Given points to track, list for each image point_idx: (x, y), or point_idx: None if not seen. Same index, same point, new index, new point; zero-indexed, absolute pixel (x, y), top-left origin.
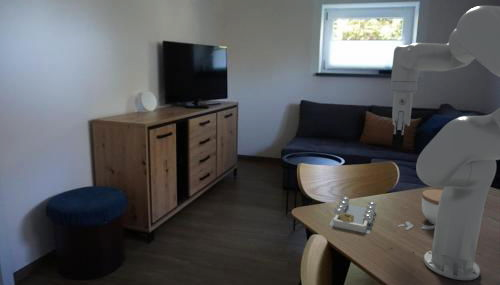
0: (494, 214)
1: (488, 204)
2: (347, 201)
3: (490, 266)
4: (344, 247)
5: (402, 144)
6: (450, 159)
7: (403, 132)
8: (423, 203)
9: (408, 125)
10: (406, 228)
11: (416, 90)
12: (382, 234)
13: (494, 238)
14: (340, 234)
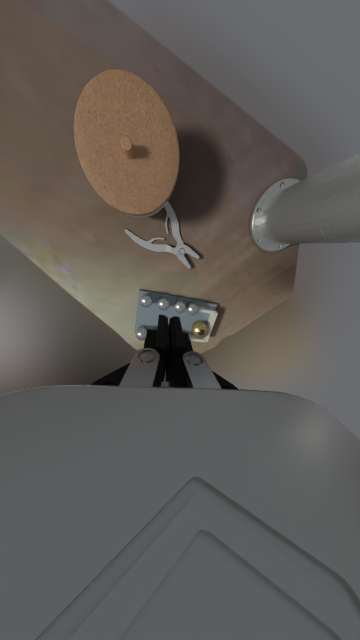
0: None
1: None
2: (146, 331)
3: (279, 150)
4: (240, 325)
5: (179, 323)
6: None
7: (207, 365)
8: (145, 216)
9: (310, 402)
10: (195, 257)
11: None
12: (207, 288)
13: (183, 64)
14: (214, 329)
